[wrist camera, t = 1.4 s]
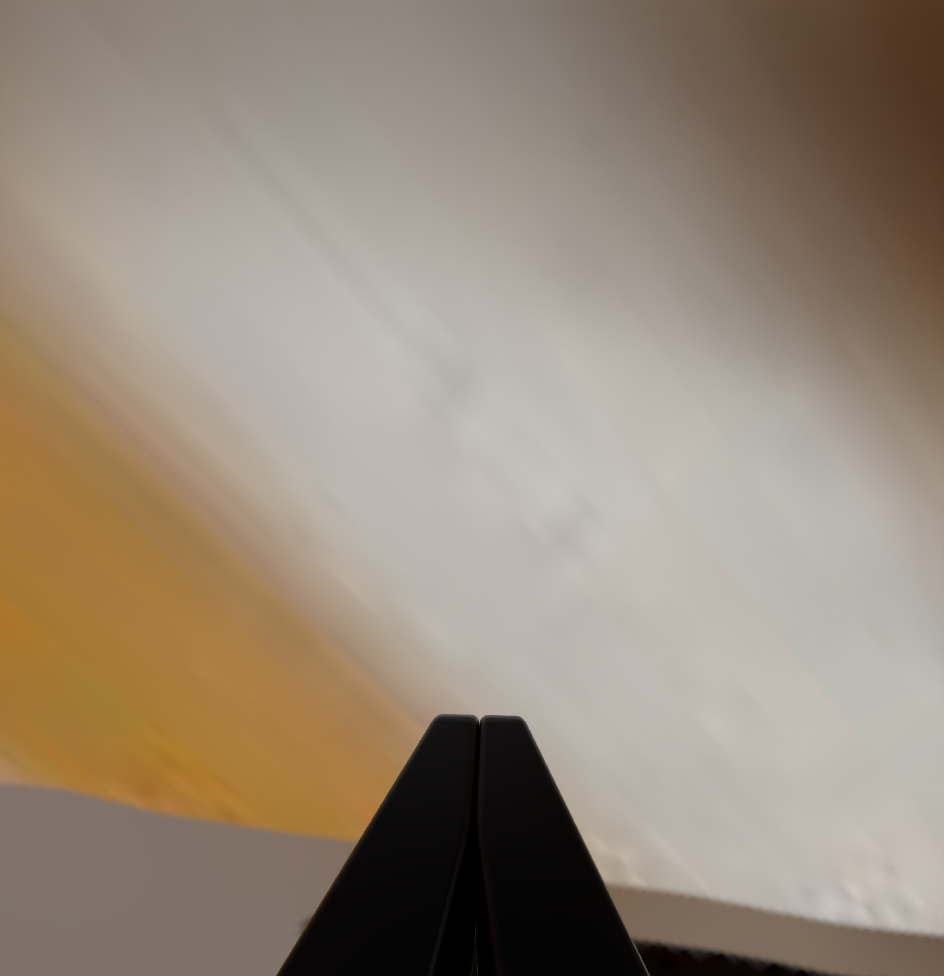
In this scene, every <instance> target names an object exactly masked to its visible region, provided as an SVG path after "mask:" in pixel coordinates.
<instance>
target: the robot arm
mask: <svg viewBox="0 0 944 976" xmlns="http://www.w3.org/2000/svg"><path fill="white" fill-rule="evenodd" d="M475 932H476V952H477V969H478V976H650V975H649V973H648V971H647V969H646V967H645V965H644V963H643V961H642V959H641V957H640V955H639V953H638V951H637V948H636V946H635V944H634V942H633V940H632V938H631V936H630V934H629V932H628V930H627V928H626V926H625V924H624V922H623V920H622V918H621V916H620V914H619V912H618V910H617V908H616V906H615V903H614V901H613V900H612V897H611V895H610V893H609V891H608V889H607V887H606V885H605V883H604V881H603V879H602V877H601V875H600V873H599V871H598V869H597V867H596V865H595V863H594V861H593V858H592V856H591V854H590V852H589V850H588V848H587V846H586V844H585V842H584V840H583V838H582V836H581V834H580V832H579V830H578V828H577V826H576V824H575V822H574V820H573V818H572V816H571V813H570V811H569V809H568V807H567V805H566V803H565V801H564V799H563V797H562V795H561V793H560V791H559V789H558V787H557V785H556V783H555V781H554V779H553V777H552V775H551V773H550V770H549V768H548V766H547V764H546V762H545V760H544V758H543V756H542V754H541V752H540V750H539V748H538V746H537V744H536V742H535V740H534V738H533V736H532V734H531V732H530V730H529V728H528V725H527V724H526V722H525V721H524V720H523V718H521V717H519V716H502V715H486V716H484V717H482V719H481V720H480V726H479V720H478V718H477V717H476V716H474V715H458V714H441V715H438V716H437V717H435V719H434V720H433V721H432V722H431V724H430V726H429V727H428V729H427V730H426V732H425V734H424V735H423V737H422V739H421V740H420V742H419V744H418V745H417V747H416V748H415V750H414V752H413V753H412V755H411V757H410V758H409V760H408V761H407V763H406V765H405V766H404V768H403V770H402V771H401V773H400V774H399V776H398V778H397V779H396V781H395V783H394V784H393V786H392V788H391V789H390V791H389V792H388V794H387V796H386V797H385V799H384V801H383V802H382V804H381V805H380V807H379V809H378V810H377V812H376V814H375V815H374V817H373V818H372V820H371V822H370V823H369V825H368V827H367V828H366V830H365V832H364V833H363V835H362V836H361V838H360V840H359V841H358V843H357V845H356V846H355V848H354V850H353V851H352V853H351V854H350V856H349V858H348V859H347V861H346V863H345V864H344V866H343V868H342V869H341V871H340V873H339V874H338V876H337V877H336V879H335V880H334V882H333V884H332V885H331V887H330V889H329V890H328V892H327V893H326V895H325V897H324V899H323V900H322V902H321V903H320V905H319V907H318V908H317V910H316V911H315V913H314V915H313V916H312V918H311V920H310V921H309V923H308V924H307V926H306V928H305V929H304V931H303V933H302V934H301V936H300V937H299V939H298V941H297V942H296V944H295V946H294V947H293V949H292V951H291V952H290V954H289V955H288V957H287V959H286V960H285V962H284V964H283V965H282V967H281V968H280V970H279V972H278V974H277V975H276V976H472V968H473V959H474V949H475Z"/></svg>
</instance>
